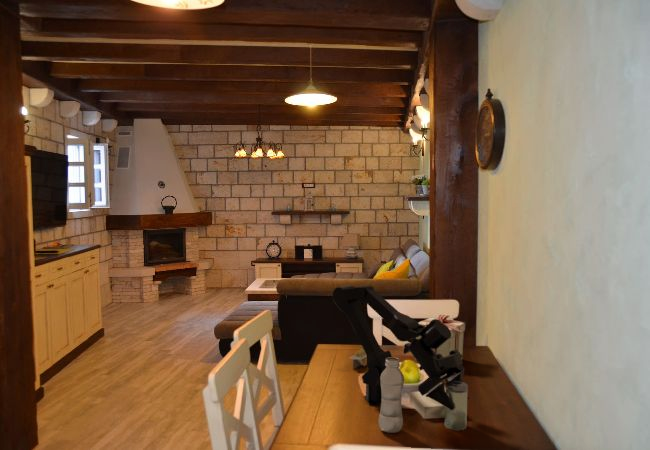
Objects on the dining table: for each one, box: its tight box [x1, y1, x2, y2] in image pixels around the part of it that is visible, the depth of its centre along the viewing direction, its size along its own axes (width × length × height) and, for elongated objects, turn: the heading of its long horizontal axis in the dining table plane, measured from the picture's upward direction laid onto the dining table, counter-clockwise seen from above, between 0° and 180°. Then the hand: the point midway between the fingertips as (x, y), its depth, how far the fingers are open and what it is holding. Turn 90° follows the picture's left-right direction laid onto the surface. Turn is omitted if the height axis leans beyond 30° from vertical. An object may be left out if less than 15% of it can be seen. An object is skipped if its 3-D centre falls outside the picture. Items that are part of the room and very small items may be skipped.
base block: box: [409, 389, 446, 420], centre depth 163 cm, size 12×12×4 cm
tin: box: [444, 381, 469, 432], centre depth 151 cm, size 6×6×12 cm
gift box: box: [414, 314, 467, 362], centre depth 212 cm, size 17×18×17 cm
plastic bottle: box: [378, 356, 405, 434], centre depth 147 cm, size 6×7×20 cm
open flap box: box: [349, 348, 367, 370], centre depth 202 cm, size 12×18×7 cm, turn 147°
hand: (460, 404), depth 151 cm, fingers open, 9 cm apart
